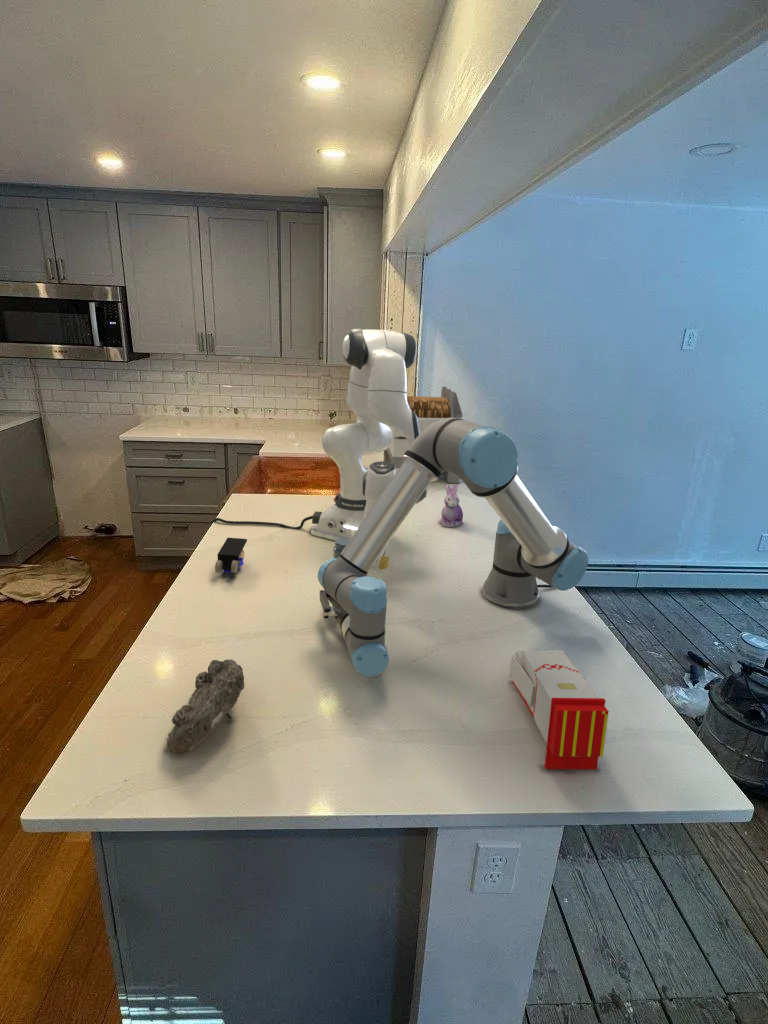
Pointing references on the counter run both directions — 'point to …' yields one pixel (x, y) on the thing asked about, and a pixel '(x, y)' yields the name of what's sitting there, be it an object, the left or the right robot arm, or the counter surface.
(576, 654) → the counter surface
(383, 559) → the lid
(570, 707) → the toy
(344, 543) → the jar
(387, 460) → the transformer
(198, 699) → the fossil
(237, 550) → the figurine character
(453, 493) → the figurine
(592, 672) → the counter surface
